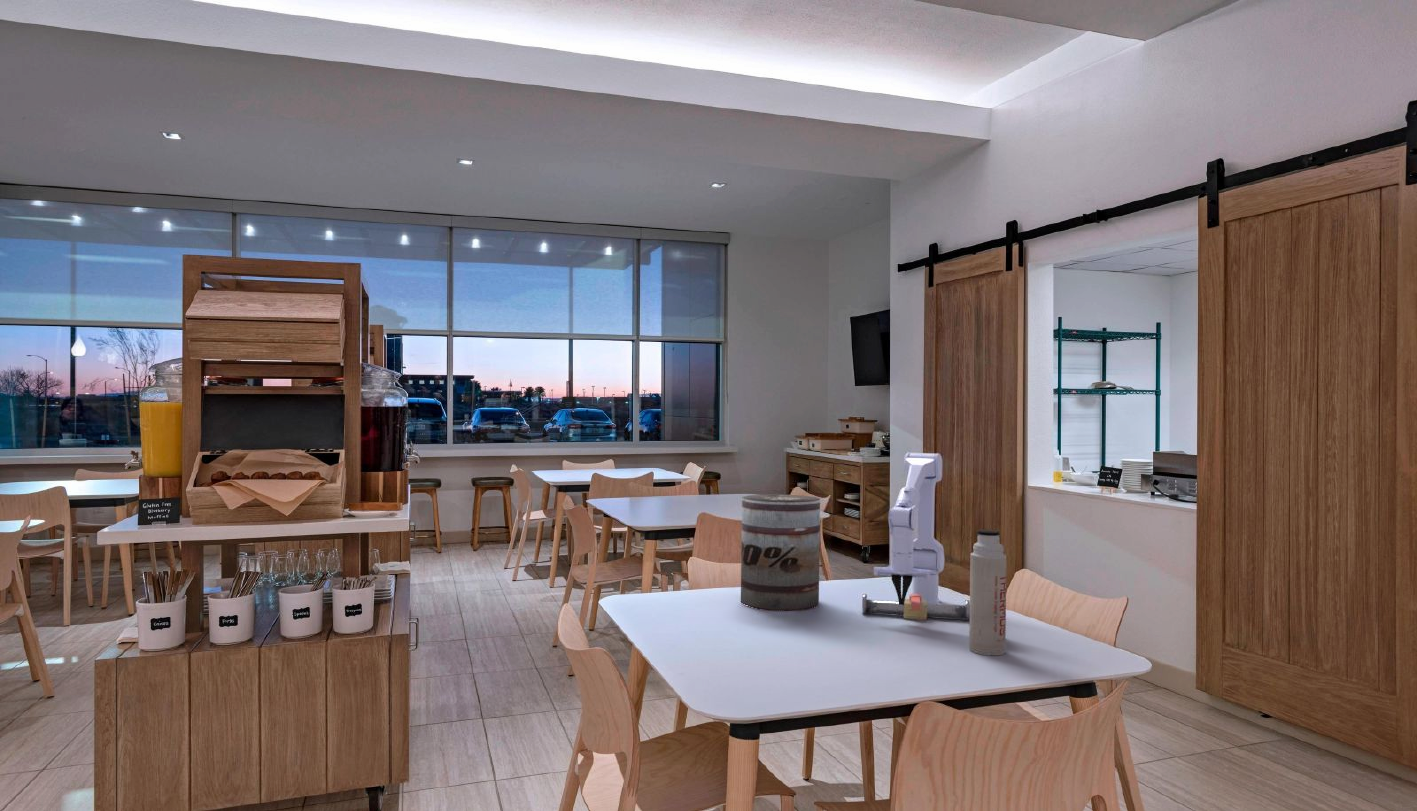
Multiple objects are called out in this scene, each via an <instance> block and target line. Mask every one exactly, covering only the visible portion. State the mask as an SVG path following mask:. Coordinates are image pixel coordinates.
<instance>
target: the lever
mask: <svg viewBox="0 0 1417 811" xmlns="http://www.w3.org/2000/svg"><path fill="white" fill-rule="evenodd" d="M908 596H909V598H908V599H909V600H910V601H911V610H920V601H921V597H922V595H919V594H913V593H910V594H909V595H908Z"/></svg>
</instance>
